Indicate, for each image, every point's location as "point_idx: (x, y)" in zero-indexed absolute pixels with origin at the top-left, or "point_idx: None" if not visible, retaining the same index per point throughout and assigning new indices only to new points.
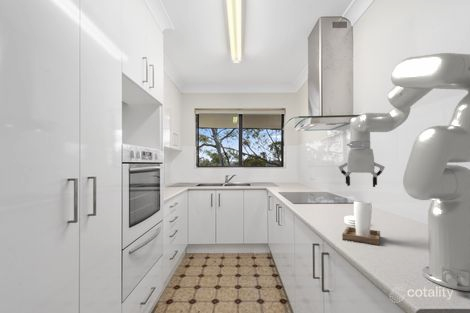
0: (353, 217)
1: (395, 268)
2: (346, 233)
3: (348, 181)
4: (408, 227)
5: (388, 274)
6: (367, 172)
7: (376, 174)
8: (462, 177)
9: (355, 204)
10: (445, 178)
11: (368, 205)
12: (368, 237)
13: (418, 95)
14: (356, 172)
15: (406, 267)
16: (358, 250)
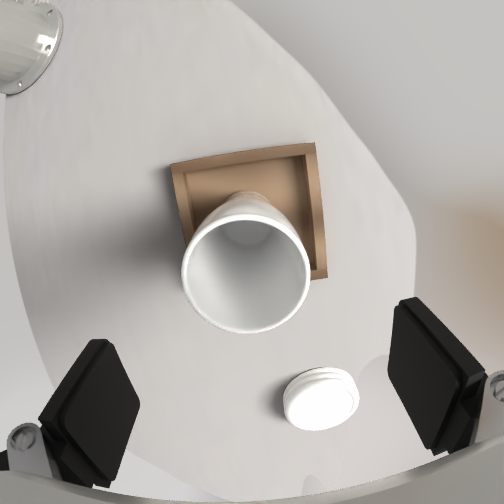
0: (328, 409)
1: (111, 9)
2: (308, 185)
3: (429, 328)
4: (170, 431)
5: None
6: (64, 483)
7: (8, 451)
8: None
9: (284, 222)
10: None
11: (192, 238)
12: (208, 161)
13: None
14: (350, 488)
15: (89, 35)
16: (223, 61)
